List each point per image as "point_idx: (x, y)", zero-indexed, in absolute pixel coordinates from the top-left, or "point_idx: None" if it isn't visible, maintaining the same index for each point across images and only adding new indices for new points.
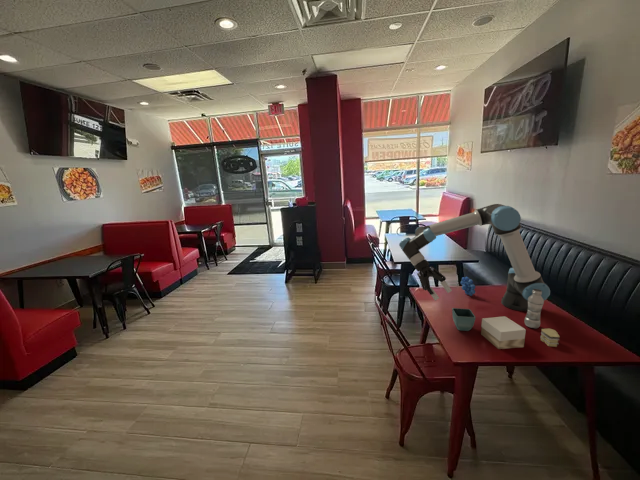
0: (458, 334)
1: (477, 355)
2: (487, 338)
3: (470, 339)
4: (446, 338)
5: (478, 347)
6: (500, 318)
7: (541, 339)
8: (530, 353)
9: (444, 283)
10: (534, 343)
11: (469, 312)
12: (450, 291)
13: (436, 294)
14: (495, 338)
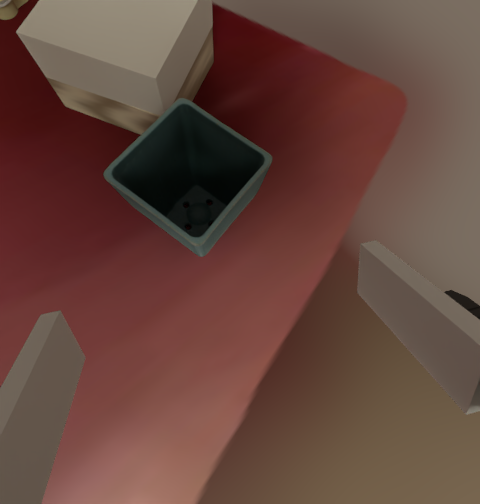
0: (263, 190)
1: (319, 76)
2: None
3: None
4: (340, 195)
5: (271, 98)
6: (66, 32)
7: (11, 10)
8: None
9: (15, 449)
10: None
11: (121, 178)
12: (67, 325)
13: (400, 267)
14: (203, 46)
